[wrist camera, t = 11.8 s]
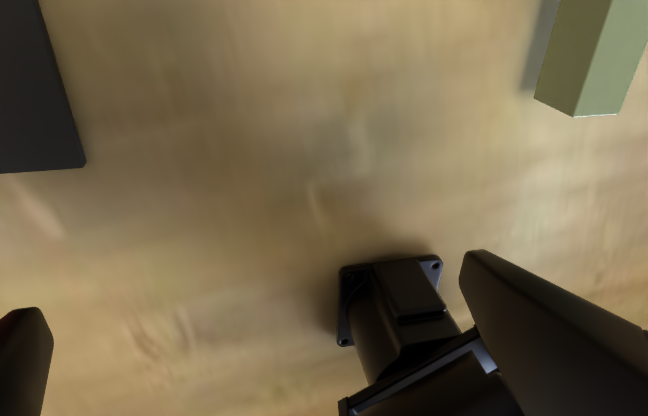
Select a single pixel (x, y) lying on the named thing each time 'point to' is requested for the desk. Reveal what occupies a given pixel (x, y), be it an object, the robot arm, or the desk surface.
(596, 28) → the sage loop
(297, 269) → the desk surface
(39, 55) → the mat
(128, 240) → the desk surface
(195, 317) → the desk surface
